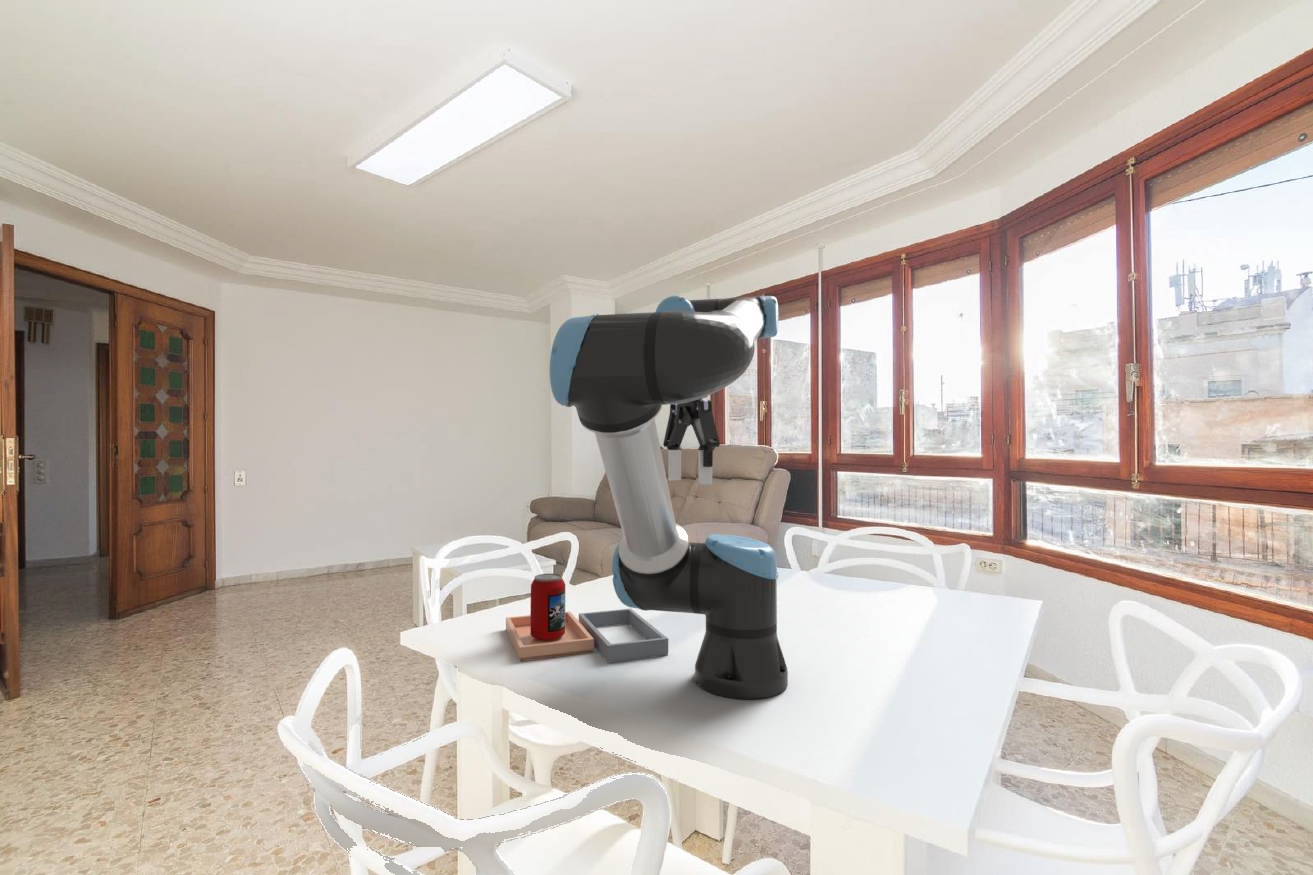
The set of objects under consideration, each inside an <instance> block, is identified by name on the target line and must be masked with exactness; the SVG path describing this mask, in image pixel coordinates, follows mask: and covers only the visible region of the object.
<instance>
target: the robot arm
mask: <svg viewBox="0 0 1313 875" xmlns="http://www.w3.org/2000/svg"><path fill="white" fill-rule="evenodd" d="M655 309H656V310H655V311H654V312H651V311H650V312H637V313H635V312H633V313H631V312H630V313H617V314H616V313H615V314H599V313H593V314H591V315H585V316H584V315H583V316H576V317H575V316H574V317H570V318H569V319H567V320H565V321H564V322H563V323H562V324H561V326H560V327H559V328H558V330H557V332H556V334H555V336H554V339H553V342H552V345H551V346H552V347H551V350H550V351H551V352H550V357H549V383H550V384H549V385H550V389H551V393H552V396H553V398H554V400H555V401H556V402H557V403H558V404H559V405H561V406H565V407H567V408H570V407H575V409H576V413H577V416H578V418H579V422H580V424H581V426H582V427H583V428H584V429H586V430H587V431H590V432H592V433H593V434H594V435H595V439H596V442H597V446H598V448H599V450H598V451H599V453H600V456H601V460H602V464H603V467H604V470H605V471H604V472H605V475H606V478H607V481H608V484H609V488H610V492H611V496H612V500H613V502H614V507H615V510H616V514H617V517H618V521H619V523H620V528H621V532H622V535H623V536H622V537H621V540H620V542H618V544H617V546H615V547H616V548H615V550H614V552H613V555H612V556H613V557H612V563H611V572H612V576H613V577H612V584H613V585H612V586H613V588H614V592H615V594H616V597H617V598H618V600H619V601H620V603H622V604H623V605H624V606H626V607H628V608H631V609H639V610H641V611H647V612H648V611H656V612H657V611H660V612H673V613H682V614H683V613H685V614H686V613H688V614H697V615H698V614H699V615H704V616H705V634H704V635H703V639H702V641H701V642H702V643H701V644H700V645H701V646H700V648H699V652H698V654H697V658H696V660H695V664H694V680H695V682H696V684H697V685H698V686H699V687H700V688H701V689H704V690H705V691H707V692H709V693H712V694H715V695H716V696H717V695H718V696H722V697H727V698H732V699H747V700H748V699H749V700H750V699H751V700H753V699H754V700H755V699H763V698H769V697H772V696H776V695H779V694H781V693H782V692H784V691H785V690H786V689H787V688H788V683H789V682H788V681H789V680H788V678H789V677H788V676H789V674H788V673H789V672H788V667H787V663H786V660H785V657H784V653H783V650H782V648H781V645H780V642H779V638H778V630H777V629H778V625H777V624H778V611H777V610H778V605H777V604H778V603H777V602H778V597H777V592H778V591H777V589H778V588H777V587H778V586H777V585H778V584H777V582H778V581H777V580H778V578H779V572H778V565H777V562H778V560H777V554H776V551H775V550H774V548H773V547H772V546H771V545H770V544H768V543H766V542H764V541H761V540H758V539H754V538H751V537H747V536H740V535H734V534H720V533H715V534H714V533H713V534H710V535H708V536H707V537H706V539H705V541H704V542H693V541H692V542H690V541H689V537H688V535H687V532H686V530H685V529H684V528H683V527H682V526H681V525H680V524H678V523H676V519H675V514H674V509H673V505H672V499H671V495H670V488H669V484H668V481H682V450H683V448H682V441H683V440H684V438H685V435H686V431H687V429H688V427H690V426H692V429H693V431H694V435H695V437H696V439H697V441H698V444H699V446H698V448H697V450H698V451H697V452H698V460H697V461H698V462H697V463H698V464H697V465H698V467H697V468H698V470H697V472H698V473H697V479H698V480H697V483H698V485H713V464H714V463H713V461H714V460H713V458H714V456H713V452H714V451H715V450H716V449H715V448H719V447H720V446H721V445H720V444H721V443H720V439H719V435H718V430H717V426H716V423H715V418H714V415H713V409H712V408H713V407H712V400H711V399H706V398H707V397H708V396H711V395H713V394H715V393H717V392H719V391H721V390H723V389H725V388H726V387H728V386H730V385H731V384H733V383H734V382H735V381H737V380H738V379H739V378H740V377H741V376H743V374H744V373H746V371H747V369H748V368H749V366H750V364H751V363H752V361H753V358H754V354H755V349H756V348H755V346H756V341H757V340H758V339H760V340H763V339H766V338H767V339H768V338H774V337H776V336H777V334H778V333H779V332H778V331H779V304H778V300H777V298H776V296H773V295H756V296H743V297H742V296H741V297H728V298H727V297H726V298H709V299H708V298H707V299H688V298H686V297H683V296H681V295H679V296H678V295H672V296H671V295H670V296H668V297H666V298H665V299H662V300H661V301H660V302H659V303H658V305H657V307H656V308H655ZM663 405H669V416H668V421H667V424H666V430H665V434H664V437H663V438H664V439H663V444H662V445H663V446H664V447H665V448H666V450H668V456H667V457H668V467H667V468H668V472H667V473H668V476H667V475H666V469H665V463H664V460H663V454H662V450H661V445H660V439H659V434H658V430H657V425H656V418H657V416H658V415H659V413H660V412H661V410H662V407H663Z"/></svg>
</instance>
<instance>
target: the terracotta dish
mask: <svg viewBox="0 0 1313 875" xmlns="http://www.w3.org/2000/svg"><path fill="white" fill-rule="evenodd" d="M505 631H506V633H507V636H508V638H509V640H510V642H511V645H512V647H513V649H514V652H515V654H516V657H517V658H518V661H519V662H520V661H521V662H528V661H527V660H529V661H536V659H537V660H542V659H552V658H558V657H559V658H560V657H567V656H575V655H583V654H593V653H594V652H595V647H594V638H593V637H592V636H591V635H590V634H589V633H588V632H587V630H586V629H585V628H584V627H583V626H582V625H581V623H580V622H579V619H577V618H576V616H575V615H574V614H573V613H572V612H571V611H565V634H564V635H563V636H561V637H560V638H559V639H557V640H553V641H539V640H536V639H535V638H534V637H532V636H531V629H530V614H529V615H519V616H510V617H509V616H506V617H505Z"/></svg>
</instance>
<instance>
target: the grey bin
mask: <svg viewBox="0 0 1313 875" xmlns="http://www.w3.org/2000/svg"><path fill="white" fill-rule="evenodd" d="M578 621H579V622H580V623H581V625H582V626H583V627H584V628H585V629H586V630H587V632H588V633H589V634H590V635H591V636H592V637H593V638H594V649H596V651H597V652H598V653H599V655H601V657H602V658H603V659H604V660H605V661H606V663H607V664H610V663H618V662H626V661H632V660H633V661H634V660H639V659H649V658H654V657H655V658H656V657H663V656H668V655H669V637H667V636H665V635H664V633H662V632H661V631H660V630H658V629H657V628H656V627H655V626H653V625H652V624H651V623H650V622H648V620H646V619H644V618H643V617H642V616H641V615H639V614H638V613H637V612H636V611H634V610H633V608H631V607H629V608H622V609H614V610H613V609H612V610H601V611H592V612H591V611H590V612H583V613H578ZM618 625H629V626H631V628H632V629H634V630H635V631H636V632H637V633H639V635H641V637H642V638H644V639H642V640H633V641H624V642H618V643H617V642H616V643H610V641H609V640H607V638H606V637H605V636H604V635H603V634H602V633H601V632H600V630H598V629H597V628H602V627H609V626H611V627H612V626H618Z"/></svg>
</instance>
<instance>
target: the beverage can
mask: <svg viewBox="0 0 1313 875" xmlns="http://www.w3.org/2000/svg"><path fill="white" fill-rule="evenodd" d="M565 612H566V583H565V581H564V579H563V575H562V574H559V573H550V572H549V573H541V574H537V575H535V576H534V579H533V581H532V582H531V585H530V614H529V615H530V629H531V636H532V637H534V638H535V639H536V640H539V641H553V640H557V639H559V638H560V637H561V636H563V635H564V634H565Z"/></svg>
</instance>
